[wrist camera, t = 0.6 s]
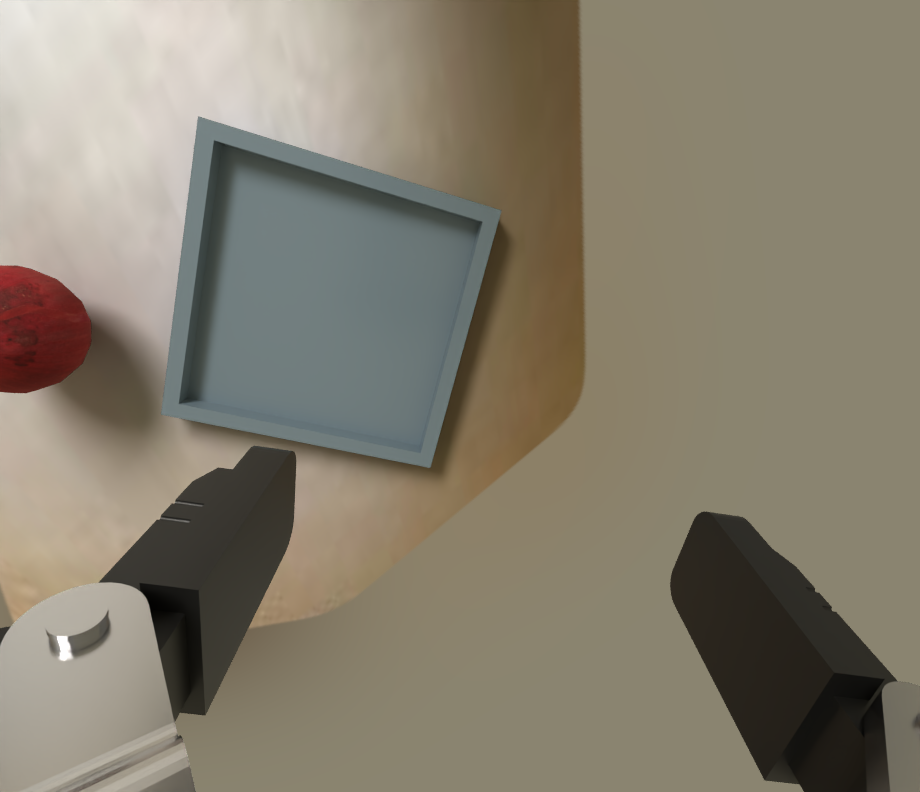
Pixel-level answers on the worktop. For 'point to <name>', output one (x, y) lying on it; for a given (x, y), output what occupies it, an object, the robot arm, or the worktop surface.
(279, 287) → the dish
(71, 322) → the onion
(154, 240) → the worktop surface
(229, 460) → the worktop surface
